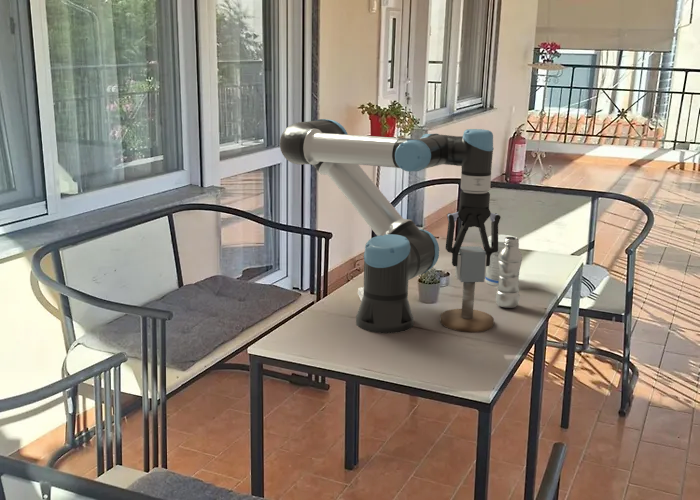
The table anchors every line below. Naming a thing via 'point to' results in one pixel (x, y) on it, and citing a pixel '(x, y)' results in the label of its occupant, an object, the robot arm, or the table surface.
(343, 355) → the table surface
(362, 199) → the robot arm
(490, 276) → the supplement tub
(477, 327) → the peg stand
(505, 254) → the plastic bottle
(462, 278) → the light grey rectangular block
